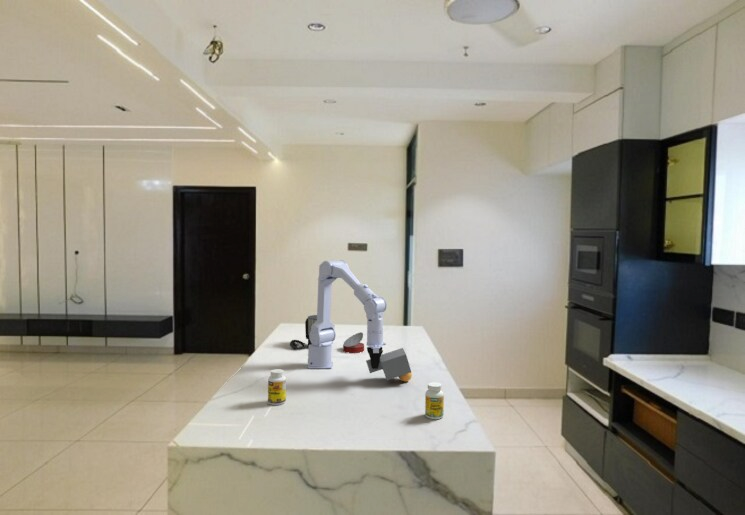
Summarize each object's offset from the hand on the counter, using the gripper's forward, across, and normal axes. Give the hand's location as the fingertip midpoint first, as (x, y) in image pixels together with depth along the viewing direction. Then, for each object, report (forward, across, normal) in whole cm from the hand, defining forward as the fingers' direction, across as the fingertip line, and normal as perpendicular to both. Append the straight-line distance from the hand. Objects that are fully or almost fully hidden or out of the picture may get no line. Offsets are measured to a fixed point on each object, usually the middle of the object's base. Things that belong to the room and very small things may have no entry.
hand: (374, 367), depth 163 cm
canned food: (+6, +45, +7) cm, 46 cm away
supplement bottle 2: (+5, -32, -16) cm, 36 cm away
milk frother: (+5, +50, +28) cm, 58 cm away
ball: (+3, 0, -11) cm, 12 cm away
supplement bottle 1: (+5, -20, +32) cm, 38 cm away
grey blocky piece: (+3, 0, -6) cm, 7 cm away
